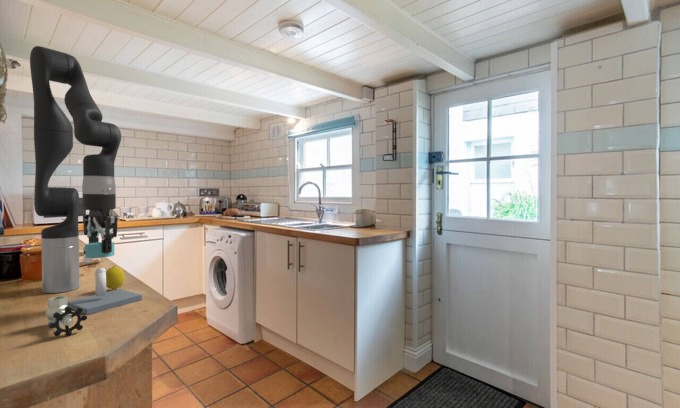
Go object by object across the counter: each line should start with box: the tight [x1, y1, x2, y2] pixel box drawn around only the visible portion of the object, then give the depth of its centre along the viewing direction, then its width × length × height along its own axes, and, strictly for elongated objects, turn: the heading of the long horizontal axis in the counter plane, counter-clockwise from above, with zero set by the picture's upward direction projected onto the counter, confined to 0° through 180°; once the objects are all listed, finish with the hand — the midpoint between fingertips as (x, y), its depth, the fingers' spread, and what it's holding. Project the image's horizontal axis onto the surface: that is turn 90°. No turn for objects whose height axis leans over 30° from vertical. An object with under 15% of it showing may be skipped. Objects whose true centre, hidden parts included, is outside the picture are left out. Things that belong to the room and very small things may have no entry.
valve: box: [45, 295, 88, 337], centre depth 75 cm, size 7×7×12 cm
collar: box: [84, 241, 115, 259], centre depth 92 cm, size 6×6×4 cm
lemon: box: [106, 265, 126, 291], centre depth 105 cm, size 6×6×8 cm
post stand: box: [67, 267, 143, 316], centre depth 93 cm, size 12×14×10 cm
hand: (100, 251), depth 92 cm, fingers closed on collar, 6 cm apart
